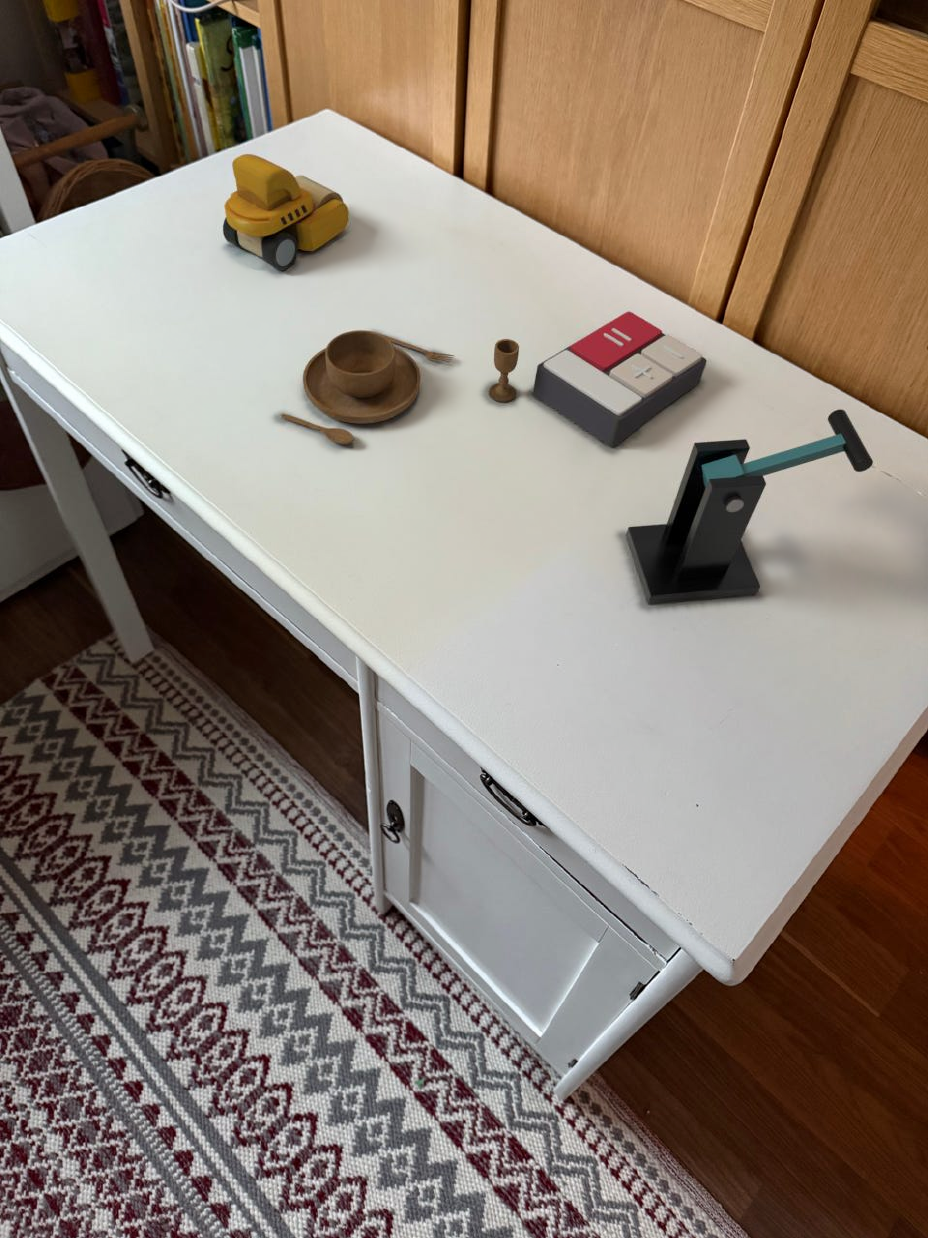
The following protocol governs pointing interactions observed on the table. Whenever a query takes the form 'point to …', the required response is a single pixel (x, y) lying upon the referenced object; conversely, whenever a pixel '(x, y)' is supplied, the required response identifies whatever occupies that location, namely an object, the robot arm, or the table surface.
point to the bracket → (701, 534)
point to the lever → (798, 454)
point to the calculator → (618, 377)
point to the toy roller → (280, 212)
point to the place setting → (378, 379)
